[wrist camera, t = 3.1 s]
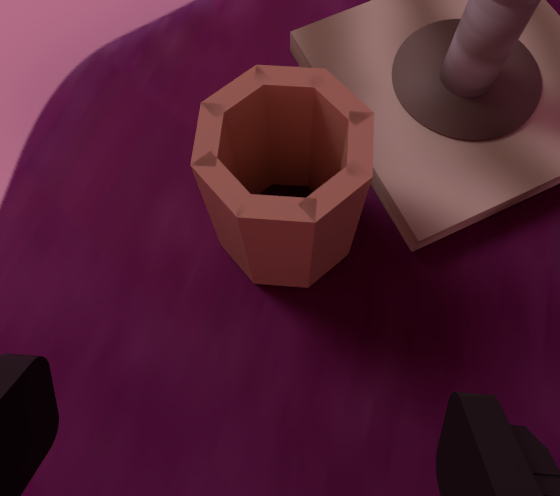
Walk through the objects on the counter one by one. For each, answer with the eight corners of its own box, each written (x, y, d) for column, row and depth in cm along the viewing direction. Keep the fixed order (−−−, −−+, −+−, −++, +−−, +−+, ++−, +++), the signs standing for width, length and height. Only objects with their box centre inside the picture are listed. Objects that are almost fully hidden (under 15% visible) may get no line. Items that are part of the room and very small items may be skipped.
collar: (351, 174, 26) (375, 70, 19) (346, 290, 24) (371, 226, 16) (231, 166, 27) (207, 62, 19) (216, 280, 24) (182, 213, 17)
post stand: (492, -28, 31) (567, -201, 22) (640, 145, 26) (803, 11, 18) (290, 51, 29) (289, -104, 21) (411, 252, 25) (473, 158, 16)
